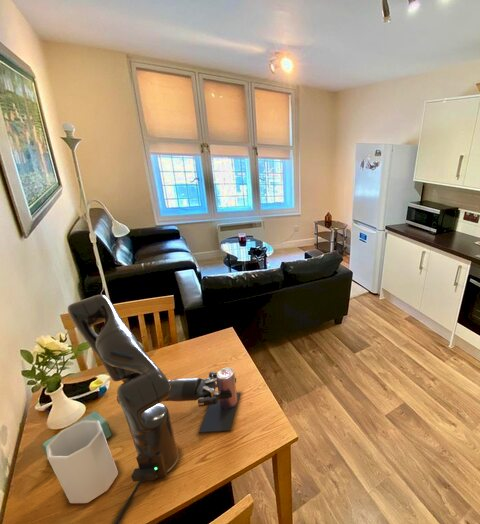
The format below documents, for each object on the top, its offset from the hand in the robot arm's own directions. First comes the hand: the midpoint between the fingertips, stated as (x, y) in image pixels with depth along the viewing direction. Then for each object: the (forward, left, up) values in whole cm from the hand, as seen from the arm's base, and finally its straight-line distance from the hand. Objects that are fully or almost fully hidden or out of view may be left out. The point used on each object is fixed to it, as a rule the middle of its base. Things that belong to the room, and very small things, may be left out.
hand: (233, 387), depth 105 cm
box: (-13, +43, -9) cm, 46 cm away
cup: (-24, +33, -9) cm, 42 cm away
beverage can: (0, +2, -8) cm, 9 cm away
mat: (-3, +4, -9) cm, 10 cm away
